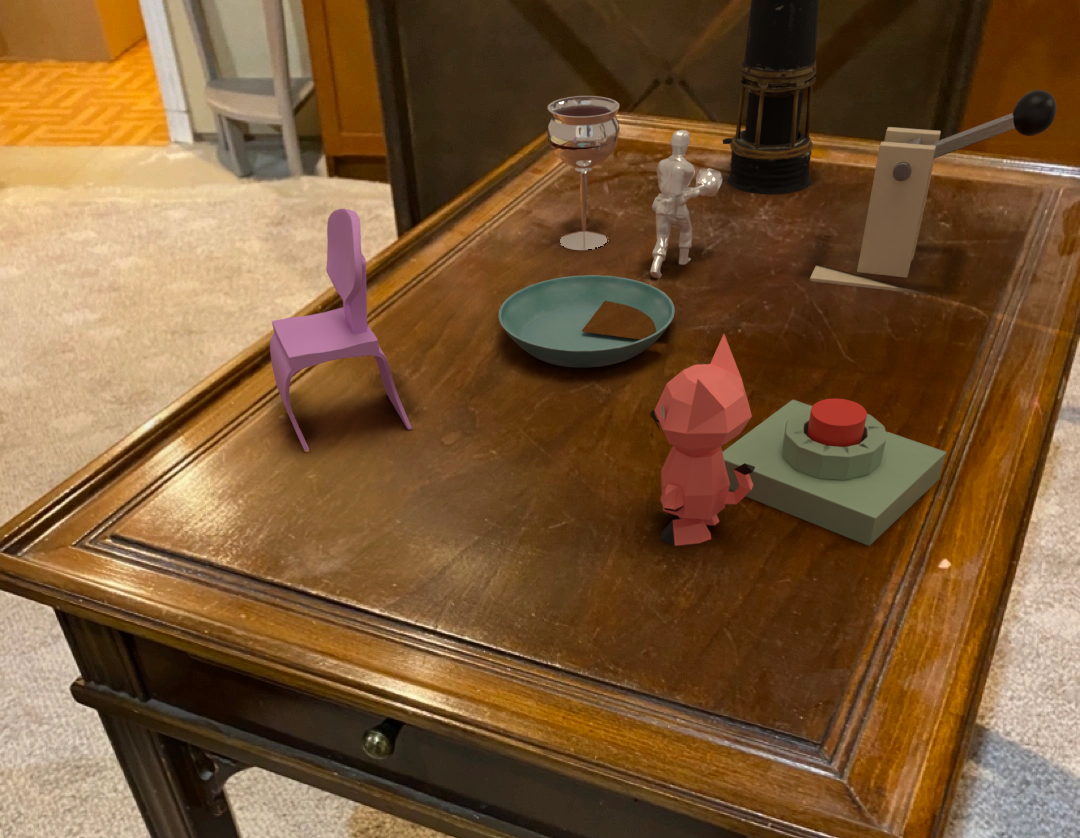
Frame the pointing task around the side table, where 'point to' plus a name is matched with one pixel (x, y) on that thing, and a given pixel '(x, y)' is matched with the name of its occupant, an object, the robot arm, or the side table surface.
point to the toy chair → (332, 320)
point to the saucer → (580, 319)
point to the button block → (834, 473)
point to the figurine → (678, 199)
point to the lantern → (775, 98)
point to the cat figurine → (701, 445)
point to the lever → (1004, 123)
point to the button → (837, 422)
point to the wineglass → (583, 149)
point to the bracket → (892, 211)
